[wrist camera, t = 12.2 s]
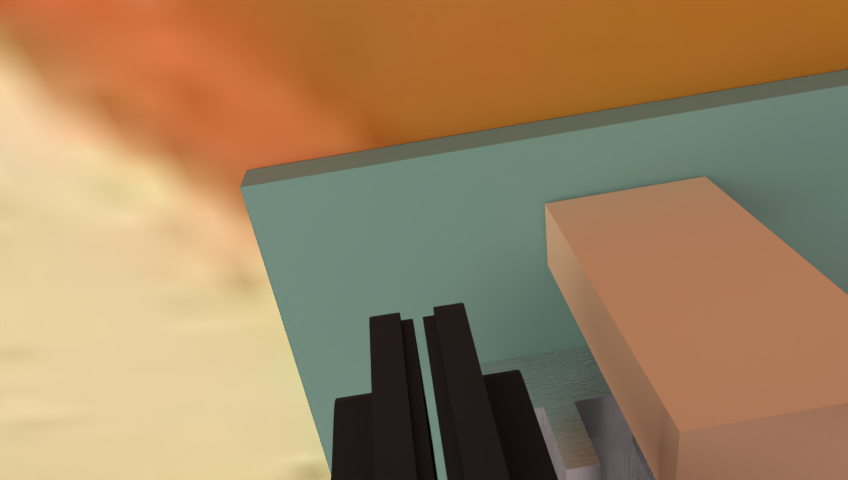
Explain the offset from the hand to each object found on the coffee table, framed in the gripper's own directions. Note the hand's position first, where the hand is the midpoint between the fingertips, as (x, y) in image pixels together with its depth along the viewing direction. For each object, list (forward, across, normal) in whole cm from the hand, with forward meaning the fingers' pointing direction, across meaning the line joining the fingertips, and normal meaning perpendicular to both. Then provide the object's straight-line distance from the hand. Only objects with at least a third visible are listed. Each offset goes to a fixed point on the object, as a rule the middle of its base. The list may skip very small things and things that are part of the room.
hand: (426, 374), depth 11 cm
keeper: (+5, -6, +2) cm, 8 cm away
